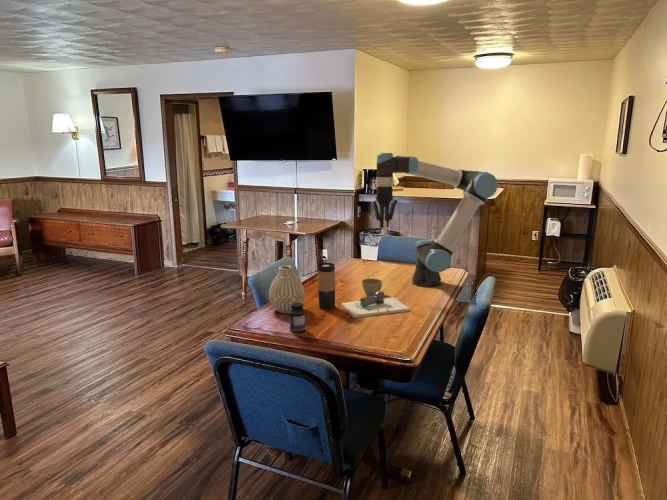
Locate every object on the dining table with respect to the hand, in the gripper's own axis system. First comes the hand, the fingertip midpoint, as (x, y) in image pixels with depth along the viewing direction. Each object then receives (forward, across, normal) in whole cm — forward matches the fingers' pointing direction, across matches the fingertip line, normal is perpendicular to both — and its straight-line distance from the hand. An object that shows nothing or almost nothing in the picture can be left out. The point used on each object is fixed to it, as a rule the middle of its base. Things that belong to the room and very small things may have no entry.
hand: (384, 234), depth 235 cm
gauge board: (+29, +13, +20) cm, 38 cm away
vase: (+30, +51, +10) cm, 60 cm away
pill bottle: (+30, +52, +35) cm, 69 cm away
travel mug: (+30, +33, +12) cm, 46 cm away
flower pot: (+30, +7, +2) cm, 30 cm away
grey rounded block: (+27, +14, +20) cm, 36 cm away
